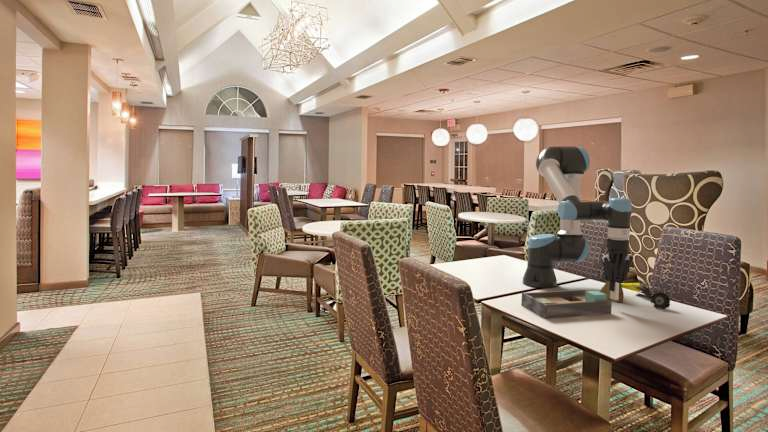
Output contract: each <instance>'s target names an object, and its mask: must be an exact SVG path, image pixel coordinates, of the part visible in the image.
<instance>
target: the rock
mask: <svg viewBox="0 0 768 432" xmlns="http://www.w3.org/2000/svg"><path fill="white" fill-rule="evenodd" d="M609 287H610V282H609V281H607V280H606V282H605V284H604V285H603V286H602V288H601V289H600V291H599V292H601V293H604V294H606V300H609V299H610V300H611V301H612V300H613V301H614V302H617V303H624V299H625V296H624V290H623V286H622V285H621V286H620V291H619V297H618V300H614V299H611V298H610V291H611V290H609ZM613 301H612V302H613Z"/></svg>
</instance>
